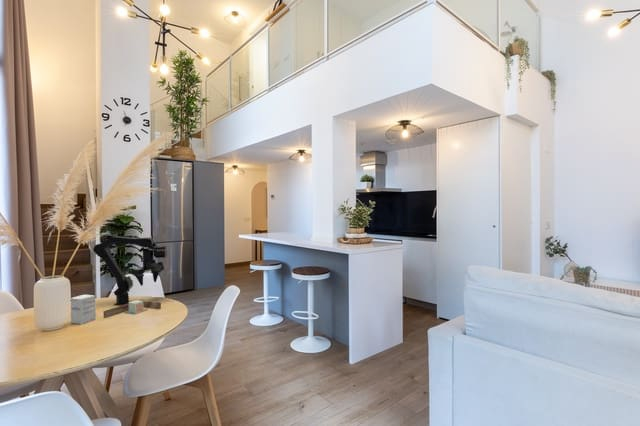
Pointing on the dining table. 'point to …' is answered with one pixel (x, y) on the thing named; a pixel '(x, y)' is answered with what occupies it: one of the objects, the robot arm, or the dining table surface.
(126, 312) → the tile
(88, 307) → the supplement box
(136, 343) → the dining table surface
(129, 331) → the dining table surface
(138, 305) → the sage cube
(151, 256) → the robot arm
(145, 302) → the block
